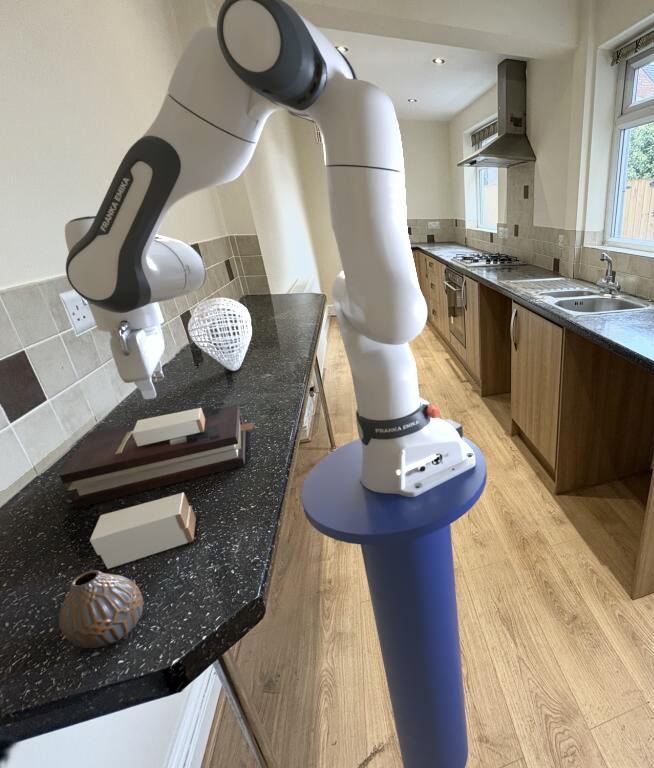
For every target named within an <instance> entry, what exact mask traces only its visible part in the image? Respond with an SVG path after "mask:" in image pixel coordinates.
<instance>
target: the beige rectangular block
mask: <svg viewBox="0 0 654 768" xmlns="http://www.w3.org/2000/svg"><path fill="white" fill-rule="evenodd" d="M196 522H197V518H196V515H195V513H194V510H193V506H192V505H189V500H188V499H187V495H186V494H185V492H181V493H176V494H173V495H170V496H166V497H162V498H159V499H154V500H152V501H148V502H144V503H140V504H136V505H133V506H129V507H125V508H123V509H119V510H115V511H112V512H107V513H103V514H101V515H100V516H99V517H98V520H97V522H96V525H95V527H94V529H93V532H92V533H91V537H90V538H89V542H90V544H91V546H92V547H93V550H94V551H95V553H96V555H97V556H100V558H101V559H102V562H103V563H104V565H105V567H106V570H109V569H112V568H115V567H118V566H121V565H125V564H127V563H130V562H134V561H137V560H140V559H143V558H147V557H149V556H152V555H155V554H158V553H162V552H164V551H167V550H170V549H173V548H176V547H179V546H182V545H186V544H188V543H192V542H194V539H195V530H196Z"/></svg>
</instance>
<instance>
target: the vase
mask: <svg viewBox="0 0 654 768" xmlns="http://www.w3.org/2000/svg"><path fill="white" fill-rule="evenodd" d="M143 611H144V598H143V594H142V592H141V590H140V588H139V586H138V585H137V584H136V583H135V582H134V581H132V580H131V579H129V578H128V577H125V576H124V575H119V574H113V573H104V572H102V571H100V570H97V569H93V570H89V571H85V572H83V573H81V574H79V575H78V576H76V577H74V579H73V580H72V581H71V583H70V586H69V591H68V593H67V595H66V596H65V598H64V600H63V602H62V604H61V606H60V609H59V612H58V624H59V629H60V631H61V633H62V635H63V636H64V638H65V639H66V640H67V641H69V642H70V643H71V644H72V645H75V646H76V647H80V648H85V649H97V648H101V647H102V648H103V647H105V646H109V645H111V644H115V643H116V642H118V641H119V640H122V638H124V637H125V636H127V635H128V634H129V633H130V632H131V631H132V630H133V629H134V627H135V626H136V625H137V623H138V622H139V621H140V618H141V617H142V614H143Z"/></svg>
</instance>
